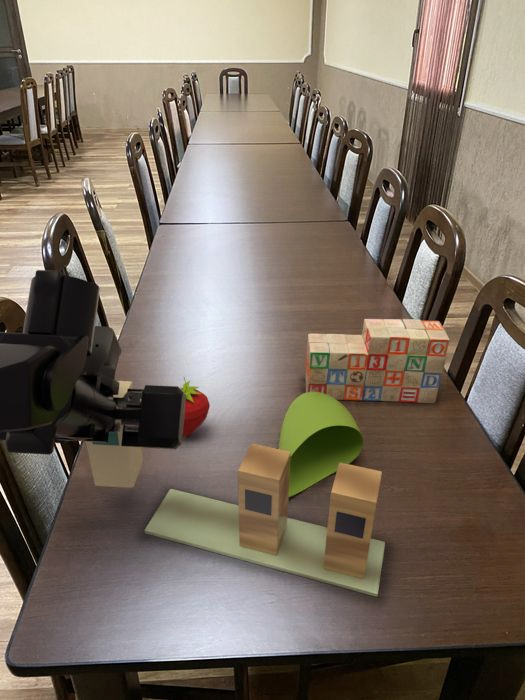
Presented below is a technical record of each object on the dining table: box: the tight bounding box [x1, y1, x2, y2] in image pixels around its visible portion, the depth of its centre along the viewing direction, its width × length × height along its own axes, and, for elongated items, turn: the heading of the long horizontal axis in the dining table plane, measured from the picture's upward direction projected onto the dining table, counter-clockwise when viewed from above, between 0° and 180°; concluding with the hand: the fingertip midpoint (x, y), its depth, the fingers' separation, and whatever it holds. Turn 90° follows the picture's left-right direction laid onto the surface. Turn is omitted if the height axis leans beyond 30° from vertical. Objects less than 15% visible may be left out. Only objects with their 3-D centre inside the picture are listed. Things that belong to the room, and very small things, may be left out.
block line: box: [144, 443, 386, 598], centre depth 61 cm, size 7×28×13 cm, turn 73°
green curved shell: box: [278, 392, 364, 498], centre depth 76 cm, size 8×12×20 cm
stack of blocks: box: [304, 318, 450, 404], centre depth 88 cm, size 21×6×12 cm, turn 88°
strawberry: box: [179, 376, 211, 437], centre depth 78 cm, size 6×8×10 cm
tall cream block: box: [85, 380, 144, 489], centre depth 62 cm, size 5×5×12 cm
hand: (116, 423), depth 63 cm, fingers closed on tall cream block, 4 cm apart
